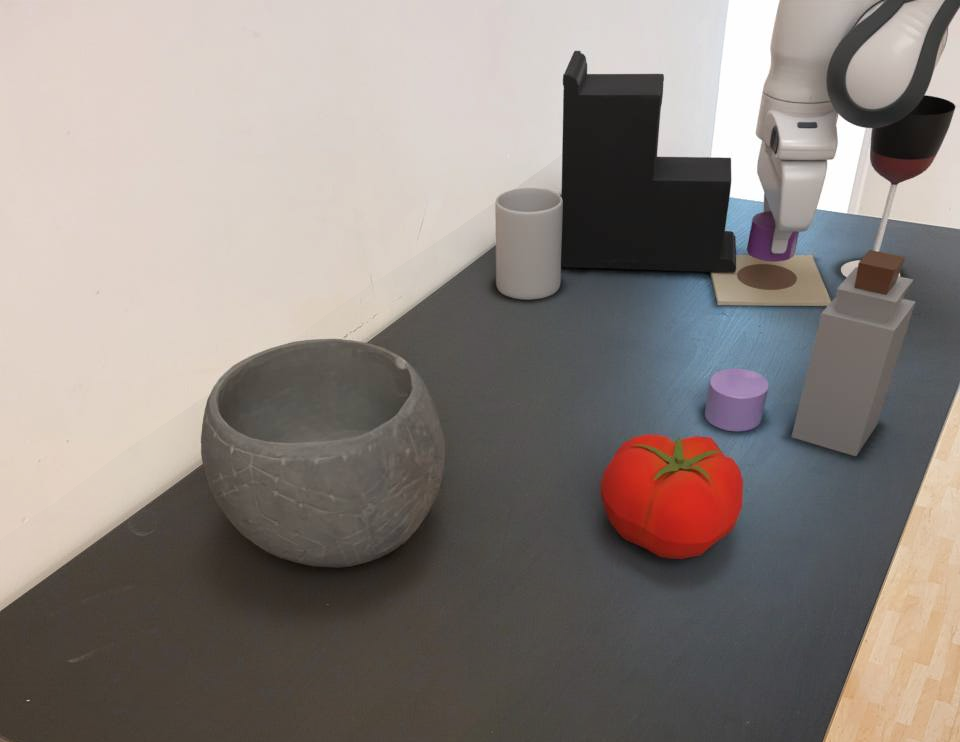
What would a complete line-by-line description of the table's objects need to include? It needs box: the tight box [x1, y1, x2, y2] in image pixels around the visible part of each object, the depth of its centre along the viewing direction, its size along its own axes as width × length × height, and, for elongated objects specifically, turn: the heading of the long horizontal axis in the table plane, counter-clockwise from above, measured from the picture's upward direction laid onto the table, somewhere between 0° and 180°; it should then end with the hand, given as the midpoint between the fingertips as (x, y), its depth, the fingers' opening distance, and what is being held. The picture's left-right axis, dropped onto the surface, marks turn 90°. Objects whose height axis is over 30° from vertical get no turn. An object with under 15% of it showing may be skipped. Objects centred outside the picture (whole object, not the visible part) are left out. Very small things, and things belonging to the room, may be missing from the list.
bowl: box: [200, 338, 447, 569], centre depth 83 cm, size 21×21×15 cm
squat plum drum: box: [746, 211, 800, 262], centre depth 119 cm, size 6×6×4 cm
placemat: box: [709, 254, 832, 307], centre depth 122 cm, size 14×14×1 cm
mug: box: [494, 187, 563, 301], centre depth 121 cm, size 12×8×11 cm
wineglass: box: [840, 94, 957, 278], centre depth 117 cm, size 8×9×20 cm
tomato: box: [599, 433, 744, 560], centre depth 84 cm, size 14×13×9 cm
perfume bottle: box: [791, 249, 916, 457], centre depth 91 cm, size 7×7×18 cm
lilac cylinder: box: [704, 368, 770, 432], centre depth 99 cm, size 6×6×4 cm
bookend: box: [560, 50, 737, 273], centre depth 120 cm, size 23×11×24 cm, turn 79°
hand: (773, 239), depth 119 cm, fingers closed on squat plum drum, 6 cm apart
